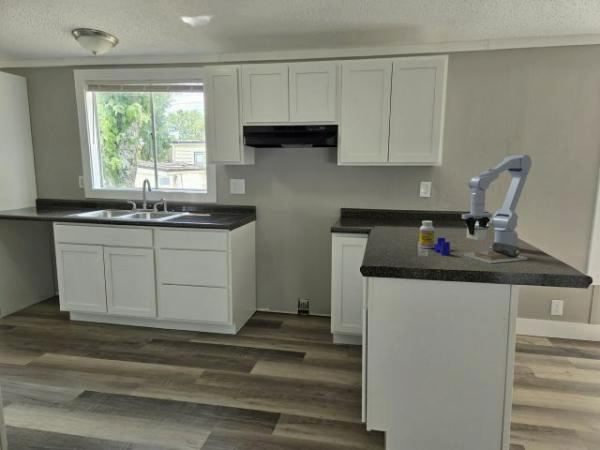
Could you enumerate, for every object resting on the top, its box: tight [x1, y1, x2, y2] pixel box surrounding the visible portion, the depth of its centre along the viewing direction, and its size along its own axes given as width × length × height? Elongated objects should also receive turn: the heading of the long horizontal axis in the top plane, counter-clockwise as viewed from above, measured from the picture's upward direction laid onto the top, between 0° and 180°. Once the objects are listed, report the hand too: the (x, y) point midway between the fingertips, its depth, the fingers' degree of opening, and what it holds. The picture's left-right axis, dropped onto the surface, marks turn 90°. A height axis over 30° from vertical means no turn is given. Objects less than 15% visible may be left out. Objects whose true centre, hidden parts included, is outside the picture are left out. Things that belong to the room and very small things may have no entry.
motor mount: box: [463, 242, 528, 264], centre depth 169 cm, size 18×16×5 cm
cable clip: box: [433, 237, 451, 256], centre depth 181 cm, size 12×4×6 cm, turn 171°
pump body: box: [466, 225, 487, 241], centre depth 178 cm, size 4×7×5 cm, turn 15°
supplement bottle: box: [418, 220, 435, 249], centre depth 192 cm, size 7×7×13 cm
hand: (476, 234), depth 178 cm, fingers closed on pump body, 4 cm apart
